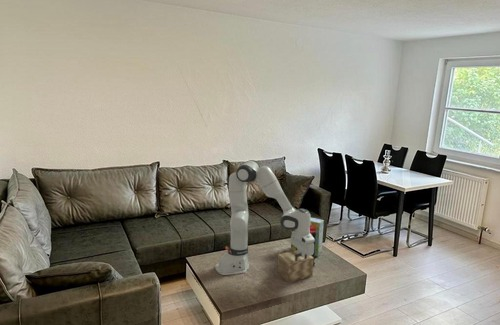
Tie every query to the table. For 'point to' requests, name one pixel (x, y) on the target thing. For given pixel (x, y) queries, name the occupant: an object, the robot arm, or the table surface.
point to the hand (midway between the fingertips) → (301, 256)
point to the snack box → (319, 235)
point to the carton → (295, 269)
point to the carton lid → (294, 257)
